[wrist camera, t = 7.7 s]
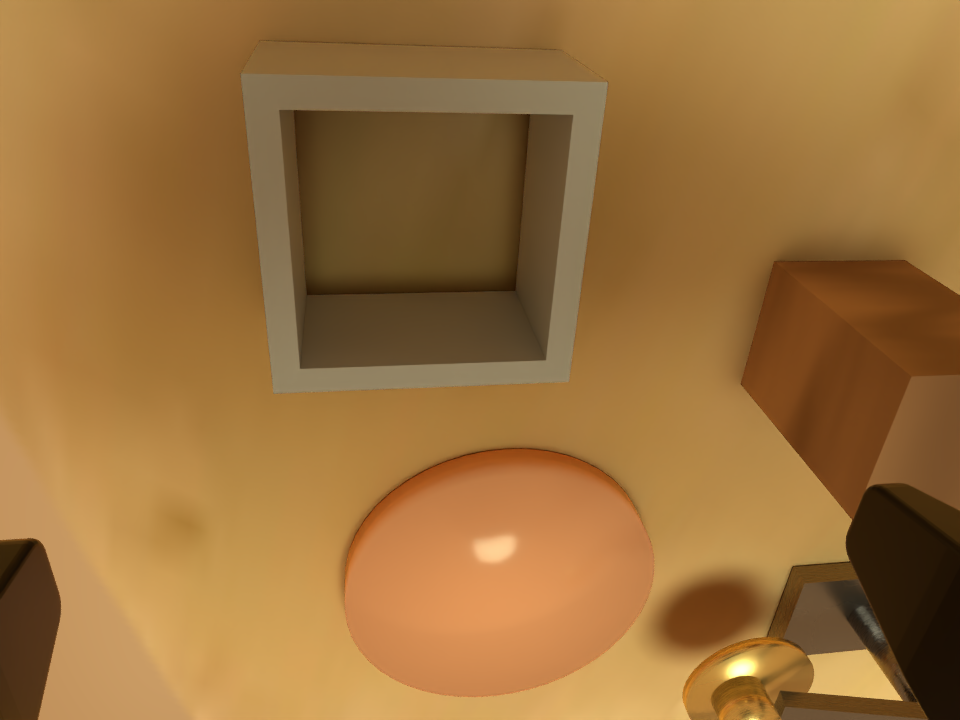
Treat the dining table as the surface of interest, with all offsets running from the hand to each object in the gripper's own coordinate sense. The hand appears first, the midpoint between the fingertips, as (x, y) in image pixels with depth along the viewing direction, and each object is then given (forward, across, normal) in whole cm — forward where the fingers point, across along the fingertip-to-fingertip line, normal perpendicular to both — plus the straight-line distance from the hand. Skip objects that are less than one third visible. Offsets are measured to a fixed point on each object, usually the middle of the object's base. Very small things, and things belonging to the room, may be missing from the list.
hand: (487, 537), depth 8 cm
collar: (+12, 0, 0) cm, 12 cm away
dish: (+12, -3, +13) cm, 18 cm away
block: (+12, -12, +4) cm, 17 cm away
